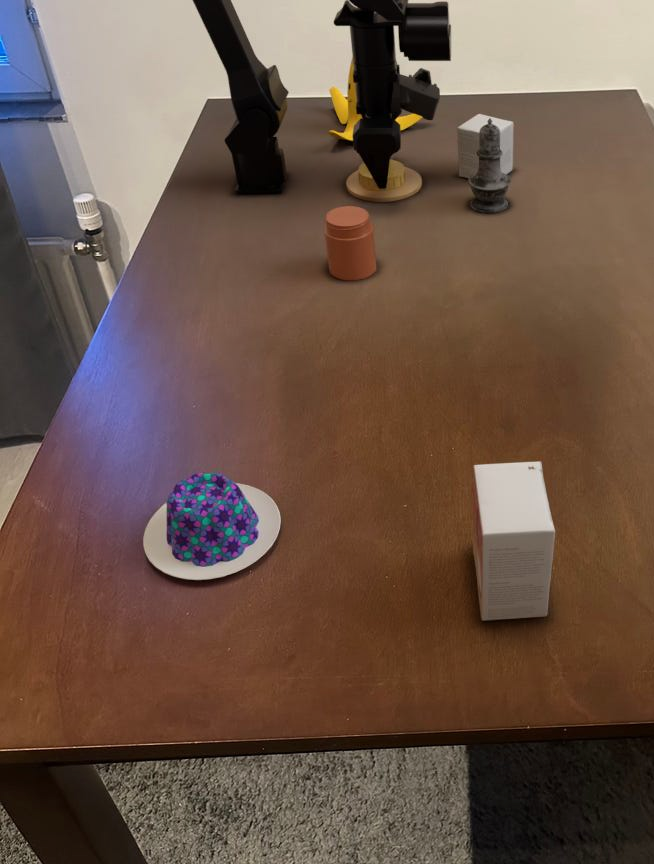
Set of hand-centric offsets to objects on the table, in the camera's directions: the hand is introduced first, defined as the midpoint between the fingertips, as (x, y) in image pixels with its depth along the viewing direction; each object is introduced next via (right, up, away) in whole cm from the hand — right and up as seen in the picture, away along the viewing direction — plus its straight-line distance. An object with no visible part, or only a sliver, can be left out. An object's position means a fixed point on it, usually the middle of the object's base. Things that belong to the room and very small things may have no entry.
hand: (383, 174), depth 129 cm
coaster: (0, -1, +1) cm, 2 cm away
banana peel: (-2, +13, +16) cm, 21 cm away
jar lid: (0, 0, 0) cm, 1 cm away
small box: (+16, -55, -53) cm, 78 cm away
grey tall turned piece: (+15, -6, -3) cm, 17 cm away
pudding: (-10, -51, -49) cm, 71 cm away
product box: (+15, +1, +4) cm, 15 cm away
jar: (-2, -18, -16) cm, 24 cm away
